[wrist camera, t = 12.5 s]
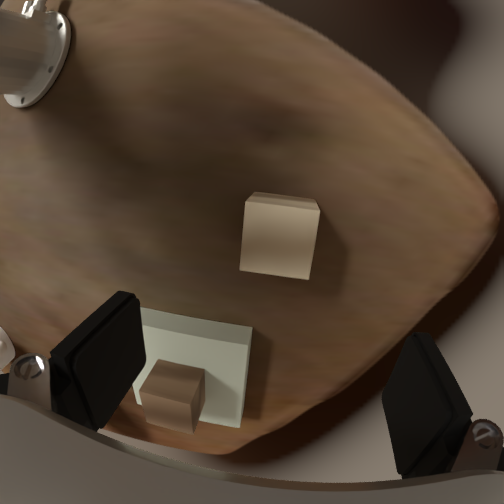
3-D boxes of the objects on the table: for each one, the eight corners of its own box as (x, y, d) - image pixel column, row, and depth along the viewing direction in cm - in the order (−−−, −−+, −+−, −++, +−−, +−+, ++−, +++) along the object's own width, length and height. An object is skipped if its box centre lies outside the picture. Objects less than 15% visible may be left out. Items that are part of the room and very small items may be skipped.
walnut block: (158, 358, 28) (138, 390, 23) (204, 368, 28) (190, 404, 23) (162, 390, 30) (146, 422, 25) (205, 400, 29) (193, 434, 25)
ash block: (254, 191, 24) (245, 201, 20) (314, 199, 24) (320, 211, 19) (249, 248, 26) (239, 270, 21) (306, 255, 26) (308, 279, 21)
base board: (132, 305, 30) (119, 319, 27) (252, 327, 29) (248, 345, 26) (146, 388, 34) (137, 403, 31) (243, 410, 33) (239, 427, 30)
